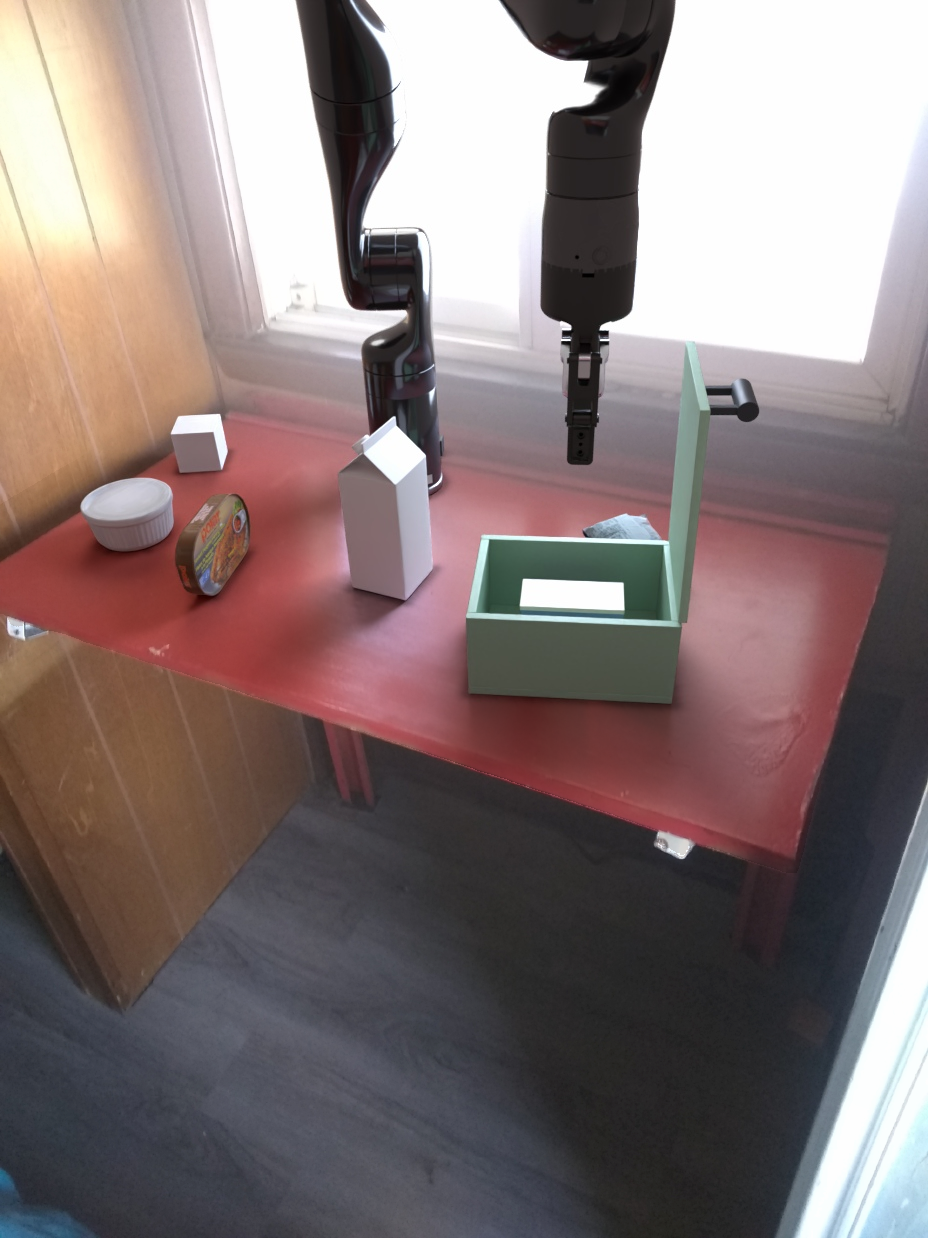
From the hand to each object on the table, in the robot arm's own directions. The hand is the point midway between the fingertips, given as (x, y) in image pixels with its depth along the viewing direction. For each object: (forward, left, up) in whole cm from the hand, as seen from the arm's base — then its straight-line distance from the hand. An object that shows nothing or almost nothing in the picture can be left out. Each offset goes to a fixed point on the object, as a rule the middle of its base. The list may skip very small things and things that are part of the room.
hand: (580, 440), depth 82 cm
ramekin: (-20, -56, -24) cm, 64 cm away
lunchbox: (0, 0, -24) cm, 24 cm away
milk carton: (-12, -21, -24) cm, 34 cm away
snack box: (0, 0, -23) cm, 23 cm away
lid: (0, +9, -4) cm, 10 cm away
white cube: (-40, -54, -24) cm, 71 cm away
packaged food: (-17, +7, -24) cm, 30 cm away
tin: (-12, -42, -24) cm, 50 cm away
